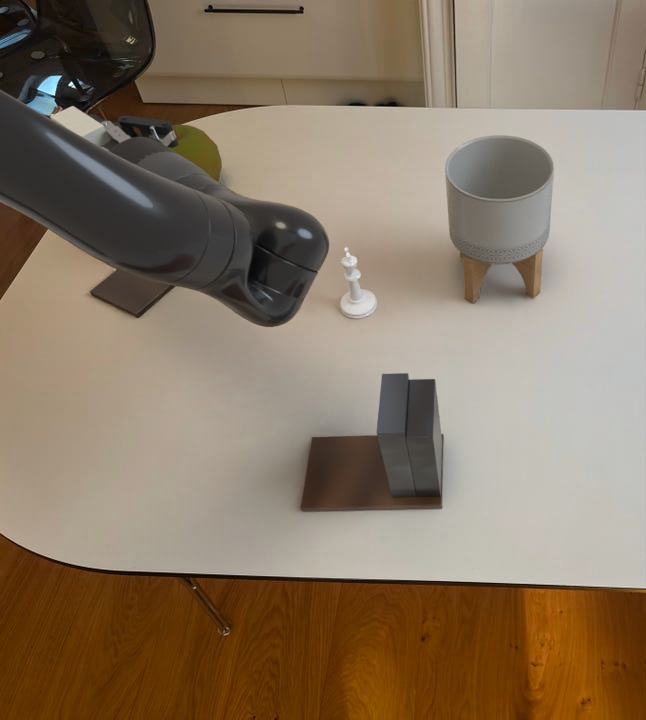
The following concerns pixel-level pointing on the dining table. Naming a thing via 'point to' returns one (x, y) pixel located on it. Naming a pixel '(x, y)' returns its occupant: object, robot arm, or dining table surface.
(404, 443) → the grey book stand
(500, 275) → the dining table surface
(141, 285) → the white book stand
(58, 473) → the dining table surface
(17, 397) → the dining table surface
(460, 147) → the planter
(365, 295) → the chess piece
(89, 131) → the white book
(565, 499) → the dining table surface
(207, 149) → the apple
